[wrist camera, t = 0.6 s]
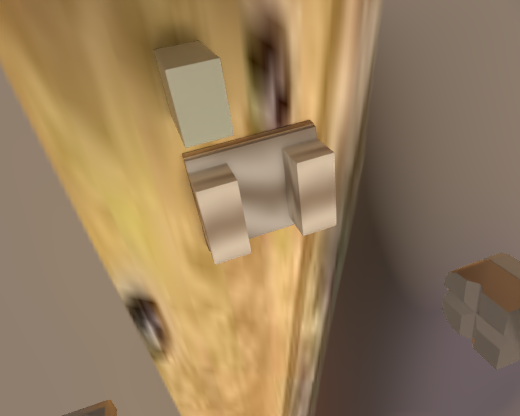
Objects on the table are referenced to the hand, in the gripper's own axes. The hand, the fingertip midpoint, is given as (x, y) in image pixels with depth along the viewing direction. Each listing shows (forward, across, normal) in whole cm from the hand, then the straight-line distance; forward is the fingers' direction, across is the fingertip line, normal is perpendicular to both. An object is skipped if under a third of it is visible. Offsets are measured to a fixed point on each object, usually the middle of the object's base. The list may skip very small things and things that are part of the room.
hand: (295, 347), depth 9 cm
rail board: (+32, -7, +12) cm, 35 cm away
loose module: (+31, -2, -1) cm, 31 cm away
